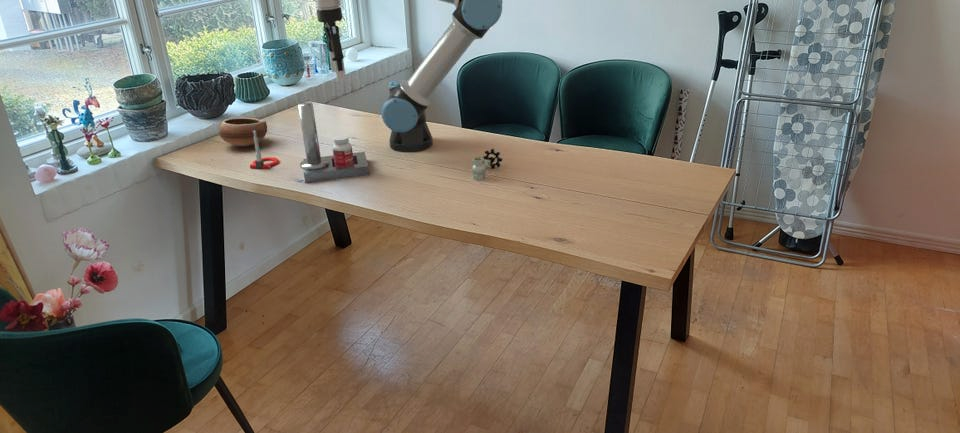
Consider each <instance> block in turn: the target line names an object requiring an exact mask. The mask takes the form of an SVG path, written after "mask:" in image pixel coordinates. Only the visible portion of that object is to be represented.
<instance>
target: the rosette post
mask: <svg viewBox="0 0 960 433" xmlns="http://www.w3.org/2000/svg"><path fill="white" fill-rule="evenodd" d="M297 107H298V113H299V118H300V125H301V131H302V138H303V144H304V145H303V146H304V149H305V151H304V152H305V156H306V158H303V160H302V161H301V162H300V164H299V166H300V168H301V169H302V170H303V179H304V183H307V184H308V183H314V182H315V183H316V182H322V181H331V180H338V179H345V178H346V179H347V178H354V177H361V176H362V177H363V176H370V170H369V163H368V160H367V156H366V153H365V152H366V151H359V152H353V160H354V165H345V166H337V167H335V163H334V156H333V154H332V155H324V156H321V150H320V143H319V137H318V136H319V135H318V131H317V122H316V117H315V110H314V103H313V102H310V101H306V102H301V103H298V104H297Z"/></svg>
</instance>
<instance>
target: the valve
mask: <svg viewBox="0 0 960 433" xmlns="http://www.w3.org/2000/svg"><path fill="white" fill-rule="evenodd" d="M484 154H485V155H483V156H476V157H473V158H472V160H471V163H472V165H471V166H472V167H471V172H472V179H473V180H474V181H476V182H478V181H479V182H480V181H484V180H485V179H486V170H488V169H489V166H490V169H492V170H494V169H495V168H499V167H501V162H503V158H501V157H499V156H500V155H501V152H500V151H497V152H495V148H491V149H490V150H488V149H486V150H485V151H484ZM490 155H492V156H490ZM493 155H494V156H493ZM489 156H490V157H489ZM495 161H496V162H495ZM494 162H495V163H494Z"/></svg>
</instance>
